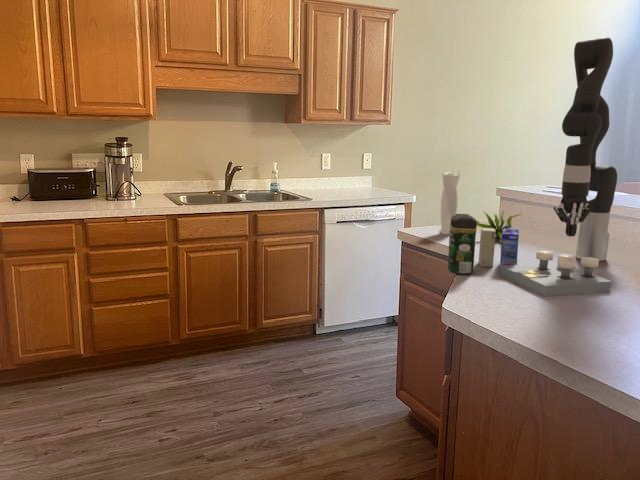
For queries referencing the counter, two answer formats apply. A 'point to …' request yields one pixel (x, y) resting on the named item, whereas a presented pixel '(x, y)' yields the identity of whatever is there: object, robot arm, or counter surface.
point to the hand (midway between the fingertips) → (570, 235)
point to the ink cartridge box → (509, 246)
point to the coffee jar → (462, 244)
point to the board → (554, 280)
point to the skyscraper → (448, 200)
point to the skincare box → (487, 247)
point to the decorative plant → (499, 228)
